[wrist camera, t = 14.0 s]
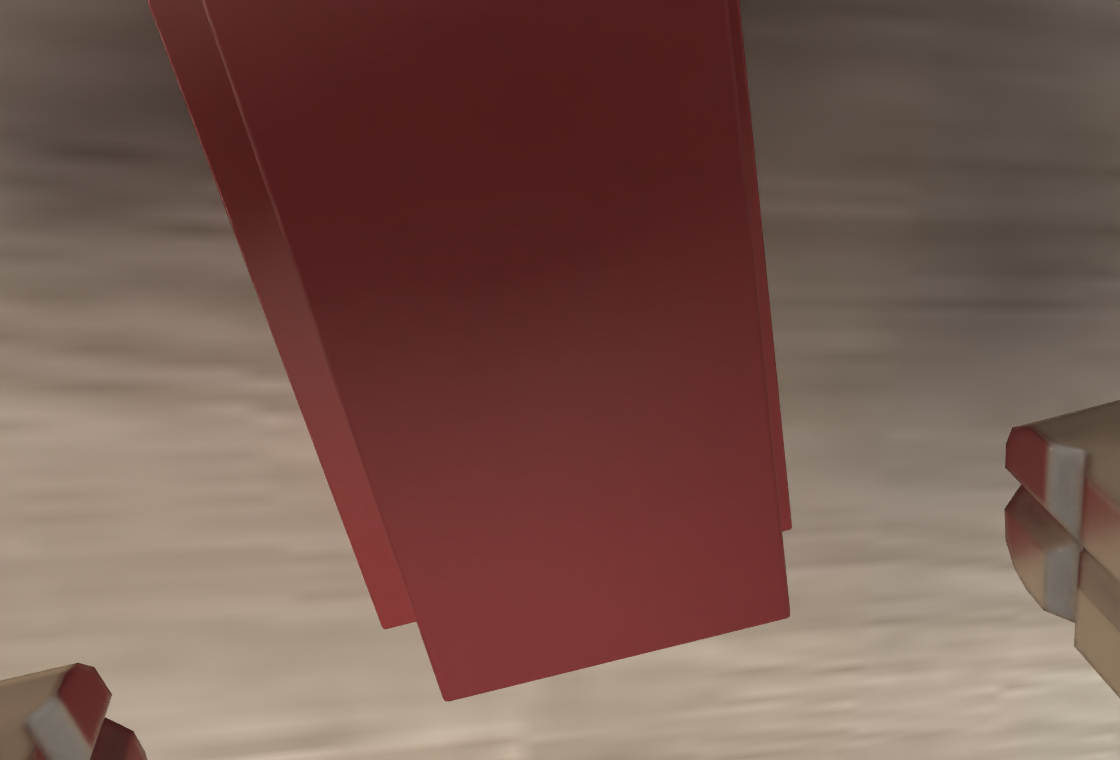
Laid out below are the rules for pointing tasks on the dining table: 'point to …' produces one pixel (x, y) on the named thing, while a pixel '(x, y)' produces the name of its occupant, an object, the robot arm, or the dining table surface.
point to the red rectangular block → (530, 310)
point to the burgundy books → (288, 311)
